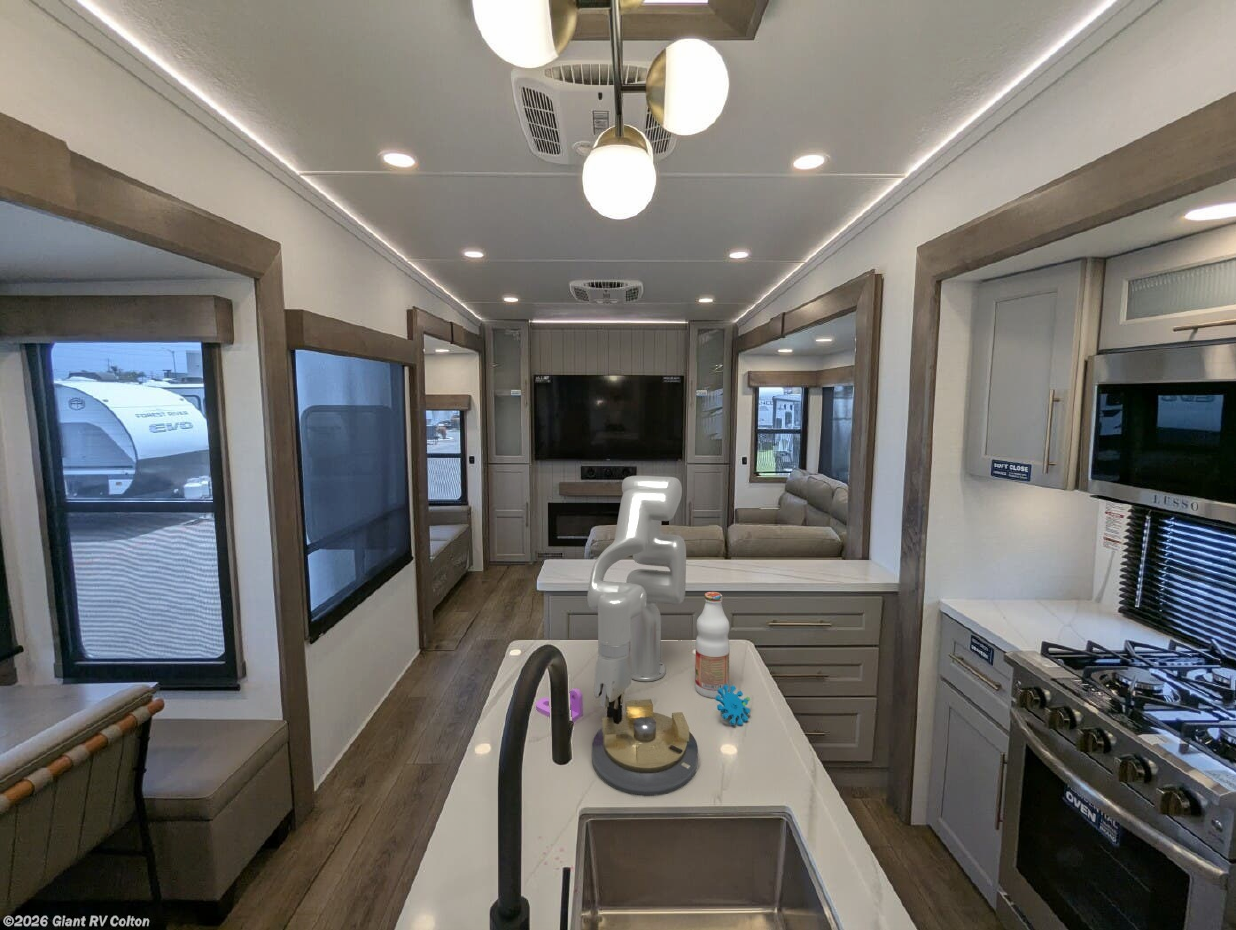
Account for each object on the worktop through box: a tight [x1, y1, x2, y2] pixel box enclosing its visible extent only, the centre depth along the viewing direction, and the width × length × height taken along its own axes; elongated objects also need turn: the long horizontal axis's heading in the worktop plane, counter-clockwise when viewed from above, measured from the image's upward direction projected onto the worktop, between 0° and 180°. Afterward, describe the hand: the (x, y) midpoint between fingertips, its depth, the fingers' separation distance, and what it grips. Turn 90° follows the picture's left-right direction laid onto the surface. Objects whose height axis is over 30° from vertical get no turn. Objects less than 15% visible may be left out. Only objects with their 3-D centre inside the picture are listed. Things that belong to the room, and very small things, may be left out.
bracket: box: [535, 688, 584, 724], centre depth 137 cm, size 13×6×7 cm, turn 54°
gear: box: [714, 684, 751, 726], centre depth 135 cm, size 11×6×10 cm
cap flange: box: [591, 727, 699, 797], centre depth 119 cm, size 24×24×3 cm
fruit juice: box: [694, 591, 731, 699], centre depth 146 cm, size 9×9×28 cm
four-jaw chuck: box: [601, 698, 690, 773], centre depth 119 cm, size 19×19×5 cm
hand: (614, 720), depth 123 cm, fingers closed
